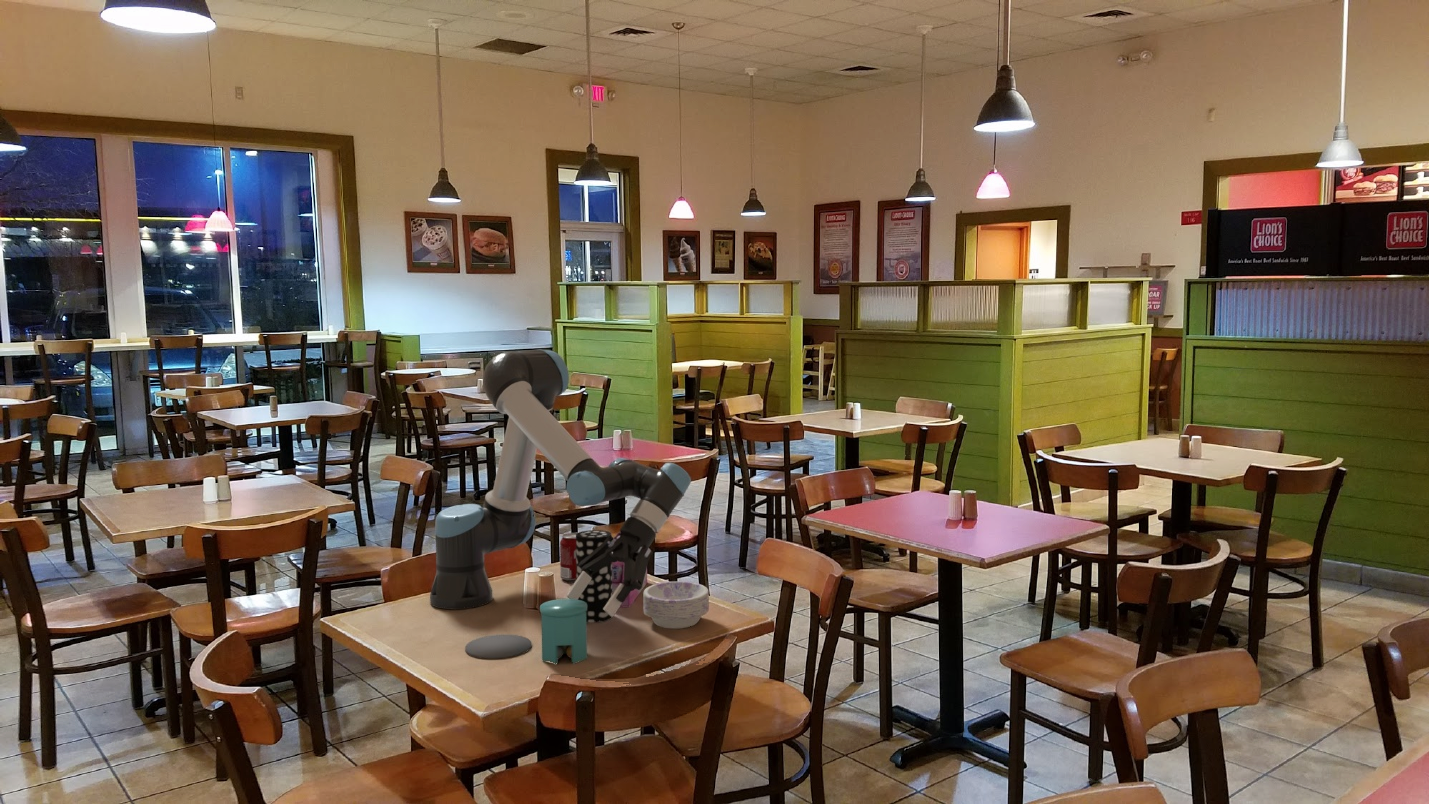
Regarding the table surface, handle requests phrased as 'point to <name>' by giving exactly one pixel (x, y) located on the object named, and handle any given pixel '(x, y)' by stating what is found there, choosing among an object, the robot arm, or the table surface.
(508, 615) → the table surface
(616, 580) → the gum box
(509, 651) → the coaster
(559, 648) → the grey marble
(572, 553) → the soda can
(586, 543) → the spotted tube
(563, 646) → the olive marble
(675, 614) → the paper bowls
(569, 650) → the amber marble
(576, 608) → the teal piece
